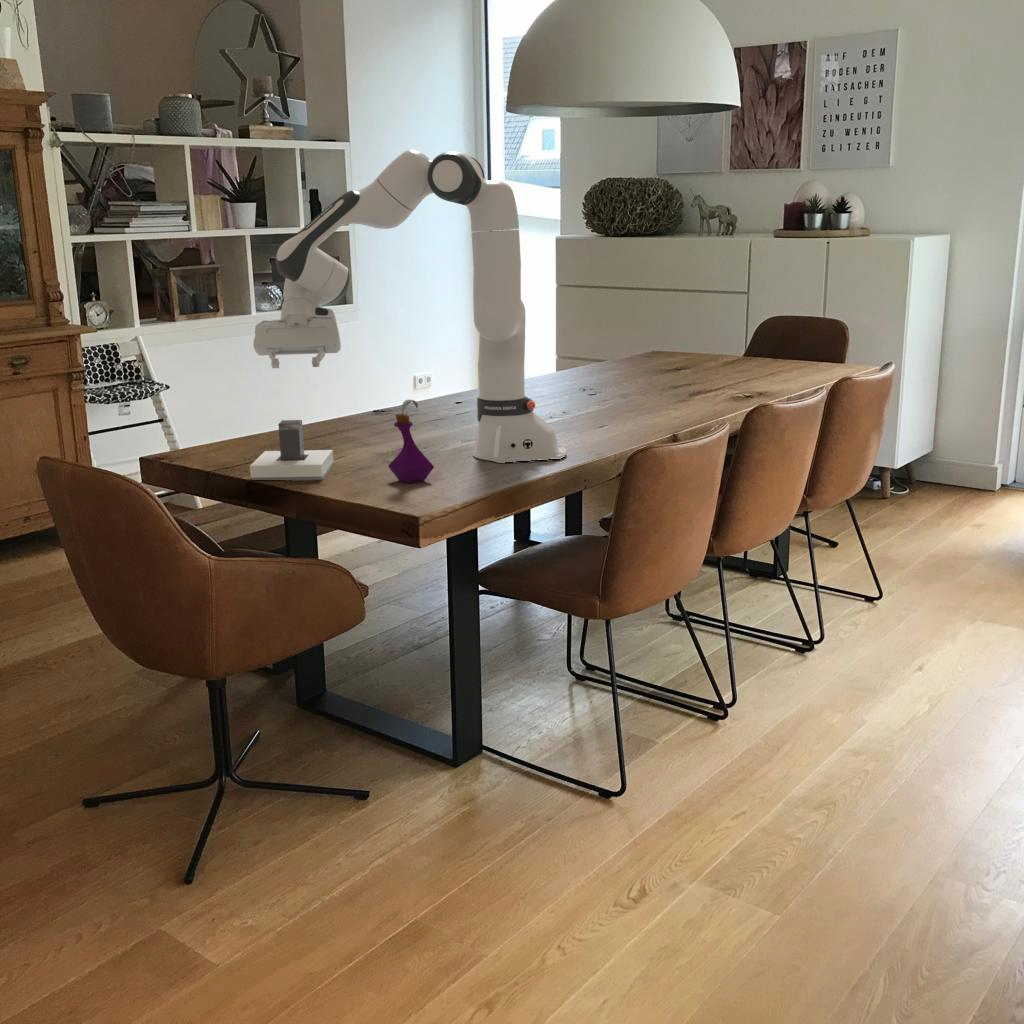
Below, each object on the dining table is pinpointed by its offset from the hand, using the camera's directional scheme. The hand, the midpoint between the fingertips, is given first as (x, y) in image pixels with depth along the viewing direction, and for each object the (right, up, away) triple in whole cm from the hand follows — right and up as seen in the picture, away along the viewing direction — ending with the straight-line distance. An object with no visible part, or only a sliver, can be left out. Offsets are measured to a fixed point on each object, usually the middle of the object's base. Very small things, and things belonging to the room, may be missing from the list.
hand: (295, 366), depth 266 cm
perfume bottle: (+28, -27, -13) cm, 41 cm away
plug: (0, -24, -4) cm, 24 cm away
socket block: (0, -25, -4) cm, 25 cm away
